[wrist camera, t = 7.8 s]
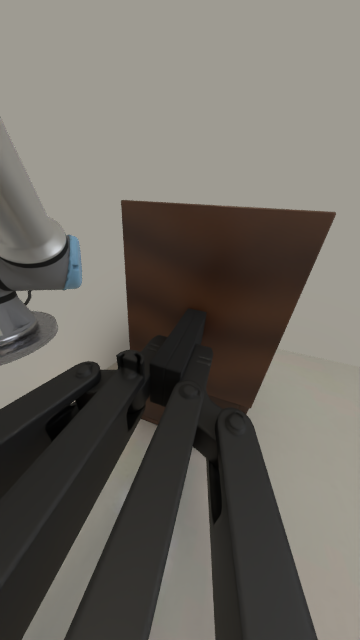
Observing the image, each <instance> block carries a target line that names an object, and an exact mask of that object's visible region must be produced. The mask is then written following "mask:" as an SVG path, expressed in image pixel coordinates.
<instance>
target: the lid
mask: <svg viewBox="0 0 360 640" xmlns="http://www.w3.org/2000/svg"><path fill="white" fill-rule="evenodd" d="M121 206H122V224H123V240H124V257H125V274H126V290H127V308H128V325H129V342H130V350H137V351H139V352H141V351H142V350H143V348H145V346H146V345H147V344H148V342H149V341H150V340H151V339H152V338H153V337H155V336H157V335H162V336H165V337H168V336H169V335H170V333H171V332H172V330H173V329H174V328H175V326H176V325H177V323H178V322H179V320H180V319H181V318H182V316H183V315H184V313H185V312H186V310H187V309H188V308H189V309H194V310H199V311H204V312H207V314H206V320H205V326H204V331H203V337H202V342H201V345H202V346H206V347H210V348H212V351H213V359H212V363H211V367H210V372H209V376H208V381H207V385H206V391H207V394H208V395H210V396H213V397H216V398H219V399H222V400H226V401H229V402H232V403H235V404H238V405H241V406H244V407H247V408H251V407H252V404H253V402H254V400H255V397H256V395H257V393H258V391H259V388H260V386H261V384H262V382H263V379H264V377H265V375H266V372H267V370H268V368H269V366H270V363H271V361H272V359H273V356H274V354H275V352H276V350H277V347H278V345H279V343H280V341H281V338H282V336H283V334H284V331H285V329H286V327H287V324H288V322H289V320H290V318H291V316H292V313H293V311H294V308H295V306H296V304H297V302H298V299H299V297H300V294H301V293H302V290H303V288H304V286H305V284H306V281H307V279H308V277H309V275H310V272H311V270H312V268H313V265H314V263H315V261H316V259H317V256H318V254H319V252H320V249H321V247H322V245H323V243H324V240H325V238H326V236H327V234H328V231H329V229H330V226H331V225H332V222H333V220H334V218H335V215H336V212H324V211H306V210H289V209H271V208H253V207H237V206H236V207H235V206H219V205H201V204H183V203H166V202H148V201H130V200H122V201H121Z"/></svg>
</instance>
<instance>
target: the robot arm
mask: <svg viewBox="0 0 360 640" xmlns="http://www.w3.org/2000/svg"><path fill="white" fill-rule="evenodd" d="M81 283H82V268H81V255H80V247H79V241H78V239H77V238H76V237H75V236H71V235H67V236H66V234H65V232H64V230H63V228H62V227H61V225H60V224H59V223H58V222H56V221H55V220H54V219H52V218H50V217H48V216H47V214H46V212H45V209H44V208H43V205H42V203H41V201H40V199H39V197H38V195H37V193H36V191H35V189H34V187H33V184H32V182H31V180H30V178H29V176H28V174H27V172H26V170H25V168H24V166H23V164H22V161H21V159H20V157H19V155H18V153H17V151H16V149H15V147H14V145H13V142H12V140H11V139H10V136H9V134H8V132H7V130H6V128H5V126H4V124H3V121H2V120H1V117H0V347H3V346H6V345H9V344H12V343H15V342H17V341H19V340H21V339H23V338H25V337H27V336H29V335H30V334H31V333H33V332H34V331H35V330H36V329H37V327H38V321H37V318H36V316H35V315H34V314H33V313H32V312H31V311H30V310H29V309H28V308H27V307H26V305H27V304H28V303H29V301H30V299H31V291H32V290H66V289H76V288H79V287H80V285H81ZM24 290H25V291H26V290H29V291H28V298H27V300H26V302H25V303H23V302H22V301H21V300H20V299H19V298H18V296H17V294H16V291H24ZM206 314H207V312H204V311H199V310H194V309H189V308H188V309H187V310H186V312H185V313H184V315H183V316H182V318H181V319H180V320H179V322H178V323H177V325H176V326H175V328H174V329H173V330H172V332H171V333H170V335H169V336H168V337H165V336H162V335H157V336H155V337H153V338H152V339H151V340H150V341H149V342H148V344H147V345H146V346H145V348H143V350H142V351H141V352H139V351H137V350H126V351H123V352H120V353H119V354H118V355H116V356H117V363H118V369H117V370H100V367H99V365H98V364H97V363H95V362H89V361H88V362H83V363H80V364H78V365H75V366H74V367H72V368H70V369H69V370H67V371H65V372H63V373H62V374H60V375H58V376H57V377H55V378H53V379H51V380H50V381H48V382H46V383H45V384H43V385H41V386H39V387H38V388H36V389H34V390H33V391H31V392H29V393H27V394H26V395H24V396H22V397H20V398H19V399H17V400H15V401H14V402H12V403H10V404H9V405H7V406H5V407H4V408H2V409H0V640H22V638H23V636H24V634H25V632H26V630H27V629H28V627H29V625H30V623H31V621H32V619H33V617H34V615H35V614H36V612H37V610H38V608H39V606H40V604H41V602H42V601H43V599H44V597H45V595H46V593H47V591H48V589H49V588H50V586H51V584H52V582H53V580H54V578H55V576H56V575H57V573H58V571H59V569H60V567H61V565H62V563H63V562H64V560H65V558H66V556H67V554H68V552H69V550H70V549H71V547H72V545H73V543H74V541H75V539H76V537H77V536H78V534H79V532H80V530H81V528H82V526H83V524H84V523H85V521H86V519H87V517H88V515H89V513H90V511H91V510H92V508H93V506H94V504H95V502H96V500H97V498H98V497H99V495H100V493H101V491H102V489H103V487H104V485H105V484H106V482H107V480H108V478H109V476H110V474H111V472H112V471H113V469H114V467H115V465H116V463H117V461H118V459H119V458H120V456H121V454H122V452H123V450H124V448H125V446H126V445H127V443H128V441H129V439H130V437H131V435H132V433H133V432H134V430H135V428H136V426H137V424H138V422H139V420H140V419H141V417H142V415H143V413H144V411H145V408H146V401H147V399H148V397H149V396H150V402H153V403H155V404H158V405H161V406H164V407H165V410H164V412H163V414H162V416H161V419H160V421H159V423H158V426H157V428H156V430H155V433H154V435H153V437H152V439H151V442H150V444H149V446H148V449H147V451H146V453H145V455H144V458H143V460H142V462H141V465H140V467H139V469H138V472H137V474H136V476H135V478H134V481H133V483H132V485H131V488H130V490H129V492H128V494H127V497H126V499H125V501H124V504H123V506H122V508H121V510H120V513H119V515H118V517H117V520H116V522H115V524H114V527H113V529H112V531H111V533H110V536H109V538H108V540H107V543H106V545H105V547H104V549H103V552H102V554H101V556H100V559H99V561H98V563H97V566H96V568H95V570H94V572H93V575H92V577H91V579H90V582H89V584H88V586H87V588H86V591H85V593H84V595H83V598H82V600H81V602H80V604H79V607H78V609H77V611H76V614H75V616H74V618H73V621H72V623H71V625H70V627H69V630H68V632H67V634H66V637H65V639H64V640H148V639H149V634H150V630H151V625H152V621H153V617H154V612H155V608H156V604H157V599H158V595H159V591H160V586H161V582H162V577H163V573H164V569H165V564H166V560H167V556H168V551H169V547H170V543H171V538H172V534H173V529H174V525H175V521H176V516H177V512H178V508H179V503H180V499H181V495H182V490H183V486H184V481H185V477H186V473H187V468H188V464H189V460H190V455H191V451H192V447H194V448H196V449H197V450H198V451H199V452H200V453H201V454H202V455H203V456H204V457H206V463H207V483H208V502H209V522H210V541H211V561H212V581H213V600H214V620H215V639H216V640H318V639H317V636H316V633H315V629H314V626H313V623H312V619H311V616H310V613H309V609H308V606H307V603H306V599H305V596H304V593H303V589H302V586H301V583H300V579H299V576H298V573H297V569H296V566H295V563H294V559H293V556H292V553H291V549H290V546H289V543H288V539H287V536H286V533H285V529H284V526H283V523H282V519H281V516H280V512H279V509H278V506H277V502H276V499H275V496H274V492H273V489H272V486H271V482H270V479H269V476H268V472H267V469H266V466H265V462H264V459H263V456H262V452H261V449H260V446H259V442H258V439H257V436H256V432H255V429H254V426H253V424H252V422H251V420H250V419H249V417H248V416H247V415H246V414H245V413H244V412H242V411H240V410H239V409H236V408H233V407H230V408H225V409H222V408H221V407H220V406H218V405H217V404H215V403H214V402H213V401H212V400H211V399H210V398H209V396H208V394H207V391H206V385H207V381H208V376H209V372H210V367H211V363H212V359H213V351H212V348H210V347H206V346H202V345H201V342H202V337H203V331H204V326H205V320H206ZM74 401H75V402H74ZM72 402H74V403H72Z"/></svg>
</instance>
